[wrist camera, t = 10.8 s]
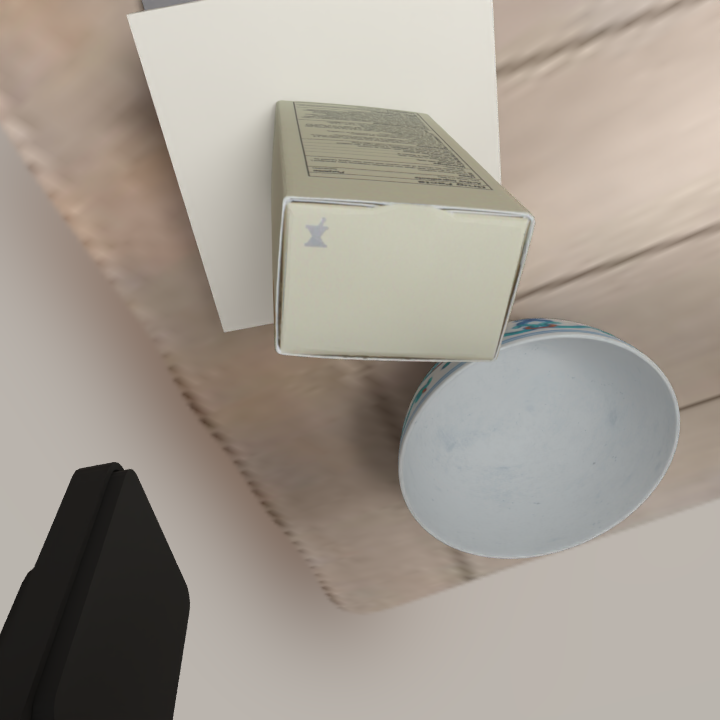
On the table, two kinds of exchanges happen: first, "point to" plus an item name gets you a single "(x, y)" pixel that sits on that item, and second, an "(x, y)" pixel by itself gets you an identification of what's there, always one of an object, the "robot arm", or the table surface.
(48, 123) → the table surface
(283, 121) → the skincare box
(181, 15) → the display podium
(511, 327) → the chinaware
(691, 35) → the table surface
